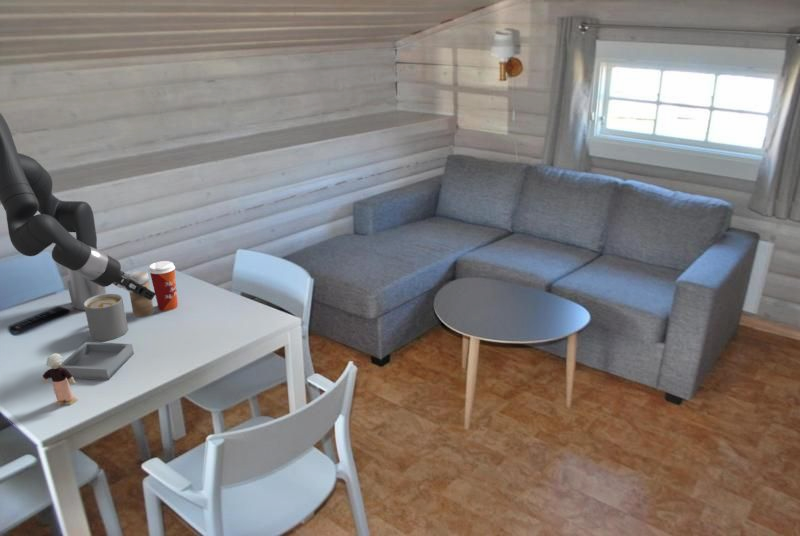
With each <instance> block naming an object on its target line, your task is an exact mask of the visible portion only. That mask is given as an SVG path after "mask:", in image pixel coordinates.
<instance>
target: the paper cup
mask: <svg viewBox="0 0 800 536" xmlns="http://www.w3.org/2000/svg"><path fill="white" fill-rule="evenodd" d="M175 269H176V266H175V265H174V262H172V261H169V260H163V261H162V260H160V261H157V262H156V261H155V262H154V263H151V264H150V265H149V269H148V272H149V274H150V278H151V282H152V287H153V290H154V291H153V292H154V293H155V296H154V297H155V299H156V302H157V307H158V310H160V311H164V312H167V311H173V310H175V309H176V308H177V307H178V293H177V284H176V272H175V271H176V270H175Z"/></svg>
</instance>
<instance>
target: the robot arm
mask: <svg viewBox="0 0 800 536" xmlns="http://www.w3.org/2000/svg"><path fill="white" fill-rule="evenodd" d="M52 191H53V179H52V177H51V175H50V173H49V172H48V170H46V168H44V166H42V164H40V163H39V162H38V161H37V160H36V159H35V158H33V157H31V156H29V155H25V154H24V153H23V154H22V153H19V152H18V150H17V147H16V145H15V141H14V138H13V135H12V132H11V129H10V127H9V125H8V123H7V121H6V119H5V117H4V116H3V114H2V113H1V112H0V203H1V205H2V207H3V210H4V211H5V216H6V222H7V223H6V224H7V229H8V236H9V239H10V242H11V244H12V246H13V247H14V249H15V250H16V251H17V252H19V253H20V254H21V255H23V256H26V257H34V256H35V257H36V256H37V255H39V254H41V252H43V251H44V250H46V249H47V248H48V247H50V246H51V245H52V244H54V246H53V247H52V252H51V259H52V260H53V261H54V262H55V263H57V264H59V265H61V266H63V267H65V268H66V270H67V275H68V278H66V284H67V288H68V293H69V297H70V301H71V305H72V308H76V309H77V310H79V311H80V310H81V311H85V308H84V302H85V301H86V300H88V299H89V298H91V297H94V296H97V295H101V294H107V292H106V291H107V290H106V287H109V286H111V285H114V286H115V287H117V288H119V289H123V290H125V291H127V292H128V293H129V292H131V293H132V292H134V293H136V294H138V295H139V296H142V297H145V298H147V299H149V300H152V301H153V299H154V297H156V296H155V291H152V290H151V289H150V290H149V289H147V287H145V286H142V285H140V284H139V282H138V281H137V280H135V279H133V278H131V277H130V276H129V275H128V274H129V273H128V274H127V273H126V272H124V271H123V270H121V269H122V266H121V263H120V261H119V260H117V259H115V258H113V257H112V256H110V255H108V254H107V253H105V252H103V251H101V250H98V246H97V245H98V244H97V242H98V241H97V240H98V238H97V231H96V223H95V217H94V212H93V209H92V207H91V205H90V204H89V203H88V202H86V201H83V200H82V201H76V200H75V201H74V200H73V201H69V200H68V201H67V200H66V201H65V200H61V199H59V198H58V197H56V196H55V195H54V194H53V193H52ZM38 212H39V213H38ZM37 213H38V214H37ZM71 233H75V237H74V235H72V234H71ZM128 278H129V279H128ZM130 279H131V280H130ZM132 280H133V281H132Z"/></svg>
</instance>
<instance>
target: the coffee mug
mask: <svg viewBox="0 0 800 536" xmlns="http://www.w3.org/2000/svg"><path fill="white" fill-rule="evenodd" d="M124 305H125V304H124V299H123V297H122V295H120V294H118V293H106V294H101V295H97V296H94V297H91V298H89V299H88V300H86V301H85V302H84V308H85V310H84V311H85V316H86V321H87V325H88V330H89V335H90V338H91V339H92V340H95V341H105V342H106V341H111V340H116V339H118V338H121V337H122V336H124V335H126V334H127V333H128V331H129V326H128V320H127V315H126V311H125V306H124Z"/></svg>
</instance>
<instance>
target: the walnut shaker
mask: <svg viewBox="0 0 800 536" xmlns="http://www.w3.org/2000/svg"><path fill="white" fill-rule="evenodd" d="M128 275H129V276H130V277H131V278H133V279H135V280H137V281H138V282H139V284H140V285H142V286H145V287H147V289H149V290H150V291H151V285H150V276H149V273H148V272H146V271H140V270H139V271H138V270H137V271H132V272H130V273H128ZM128 279H129V278H128ZM130 280H131V279H130ZM132 281H133V280H132ZM128 293H129V297H130V302H131V303H130V305H131V308H132V315H133V316H134V317H137V318H138V317H139V318H141V317H142V318H144V317H148V316H150V315H153V313H154V311H155V309H154V305H153V299H152V300H149V299H147V298H145V297H142V296H139V295H138V294H136V293H134V292H132V293H131V292H129V291H128Z"/></svg>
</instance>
